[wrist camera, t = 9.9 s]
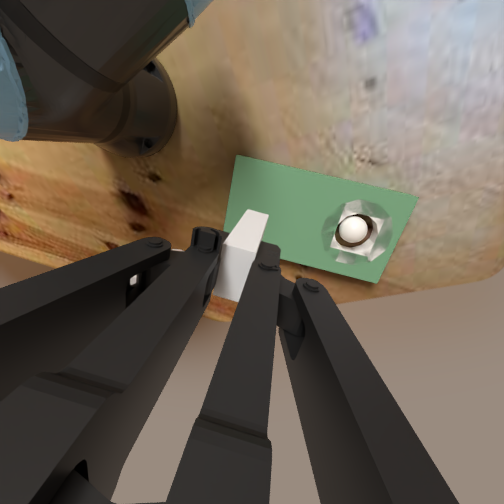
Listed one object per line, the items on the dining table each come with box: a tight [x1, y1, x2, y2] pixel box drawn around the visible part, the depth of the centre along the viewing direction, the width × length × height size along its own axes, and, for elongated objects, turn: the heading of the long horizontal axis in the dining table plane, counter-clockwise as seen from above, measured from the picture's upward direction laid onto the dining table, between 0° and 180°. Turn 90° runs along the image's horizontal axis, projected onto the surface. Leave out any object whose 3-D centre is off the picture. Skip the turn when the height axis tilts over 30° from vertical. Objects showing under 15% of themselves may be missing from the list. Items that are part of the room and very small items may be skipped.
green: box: [223, 155, 419, 284], centre depth 38 cm, size 26×14×2 cm, turn 78°
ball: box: [339, 216, 368, 243], centre depth 37 cm, size 4×4×4 cm
